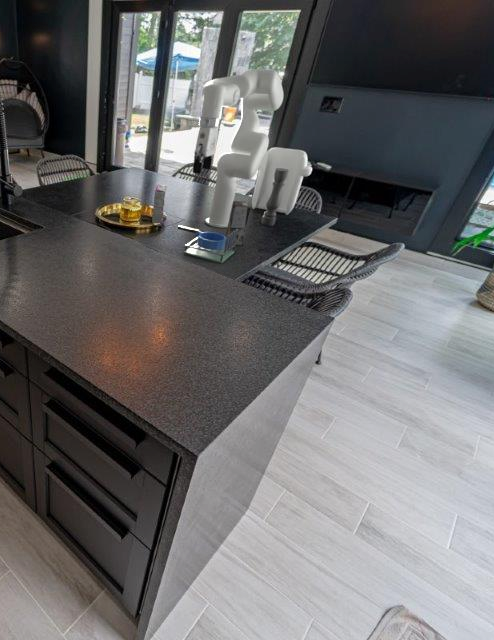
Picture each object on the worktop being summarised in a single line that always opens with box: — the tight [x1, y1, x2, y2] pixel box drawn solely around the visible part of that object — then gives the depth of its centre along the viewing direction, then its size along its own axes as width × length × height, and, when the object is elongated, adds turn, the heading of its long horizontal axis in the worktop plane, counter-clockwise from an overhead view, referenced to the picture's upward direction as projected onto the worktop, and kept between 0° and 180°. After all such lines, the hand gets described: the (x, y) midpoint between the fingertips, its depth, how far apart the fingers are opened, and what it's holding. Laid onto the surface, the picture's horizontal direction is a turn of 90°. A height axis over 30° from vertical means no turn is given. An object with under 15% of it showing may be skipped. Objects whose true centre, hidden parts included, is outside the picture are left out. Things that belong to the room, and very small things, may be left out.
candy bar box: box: [151, 184, 168, 227], centre depth 190 cm, size 11×5×16 cm, turn 168°
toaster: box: [251, 146, 313, 216], centre depth 208 cm, size 27×11×30 cm, turn 58°
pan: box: [177, 224, 226, 250], centre depth 163 cm, size 11×20×5 cm, turn 54°
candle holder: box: [260, 168, 289, 227], centre depth 190 cm, size 6×6×25 cm
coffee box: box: [225, 200, 252, 246], centre depth 172 cm, size 9×6×16 cm
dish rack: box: [183, 229, 238, 264], centre depth 162 cm, size 14×16×10 cm
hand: (201, 170), depth 161 cm, fingers open, 9 cm apart
